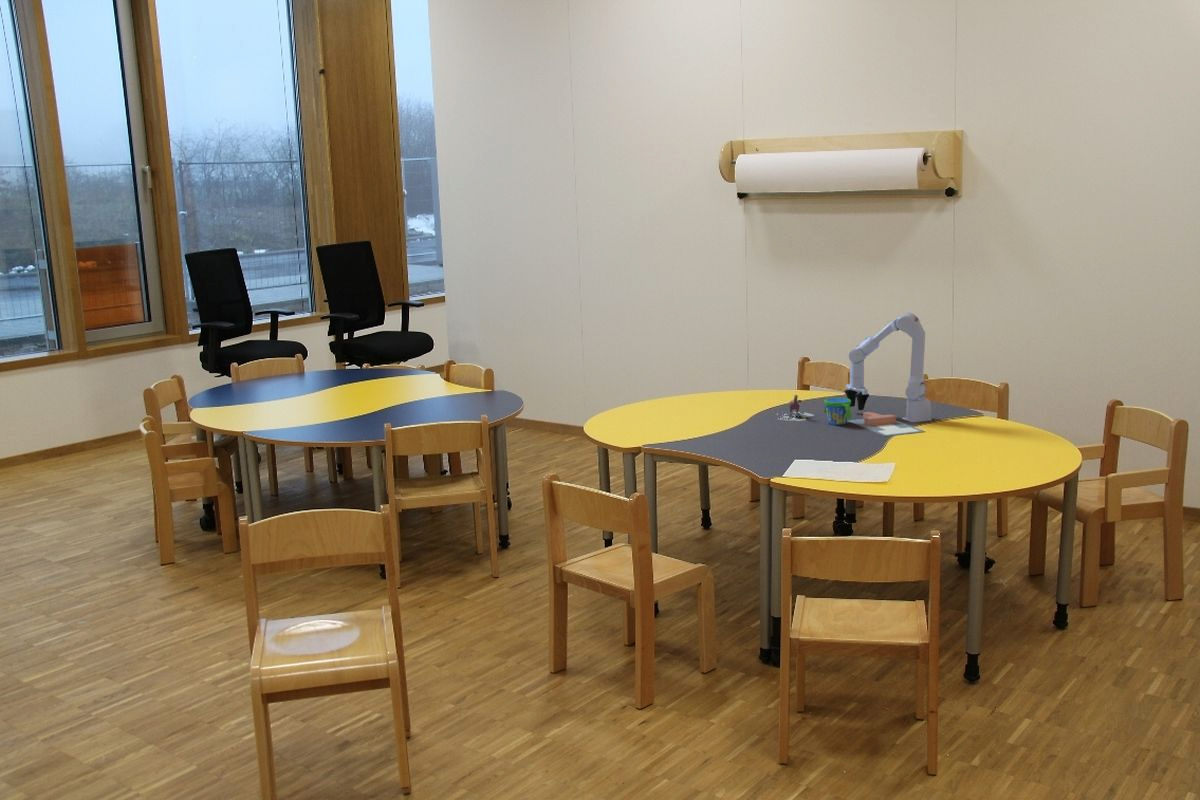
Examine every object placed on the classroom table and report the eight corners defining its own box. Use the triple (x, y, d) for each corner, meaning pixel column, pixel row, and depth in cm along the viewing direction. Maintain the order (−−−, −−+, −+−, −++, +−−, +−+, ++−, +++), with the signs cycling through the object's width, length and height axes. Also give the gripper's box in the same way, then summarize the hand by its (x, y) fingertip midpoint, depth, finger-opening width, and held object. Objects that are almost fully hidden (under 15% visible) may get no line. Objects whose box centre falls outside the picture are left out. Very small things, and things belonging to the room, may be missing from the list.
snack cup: (858, 426, 459) (858, 402, 457) (835, 429, 456) (835, 404, 454) (839, 419, 474) (839, 395, 471) (816, 421, 471) (817, 397, 468)
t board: (885, 417, 474) (885, 416, 474) (925, 432, 446) (925, 431, 446) (846, 421, 469) (846, 420, 469) (885, 436, 441) (885, 435, 441)
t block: (880, 417, 472) (880, 410, 472) (895, 423, 461) (895, 416, 460) (854, 420, 469) (854, 413, 468) (869, 426, 458) (869, 419, 457)
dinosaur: (818, 421, 473) (819, 395, 471) (775, 422, 473) (775, 396, 471) (811, 411, 490) (812, 387, 488) (770, 412, 491) (770, 388, 489)
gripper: (840, 374, 482) (839, 405, 484) (857, 380, 468) (856, 412, 471) (854, 373, 483) (854, 404, 486) (872, 378, 470) (871, 410, 473)
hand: (856, 408), depth 479 cm, fingers open, 7 cm apart
